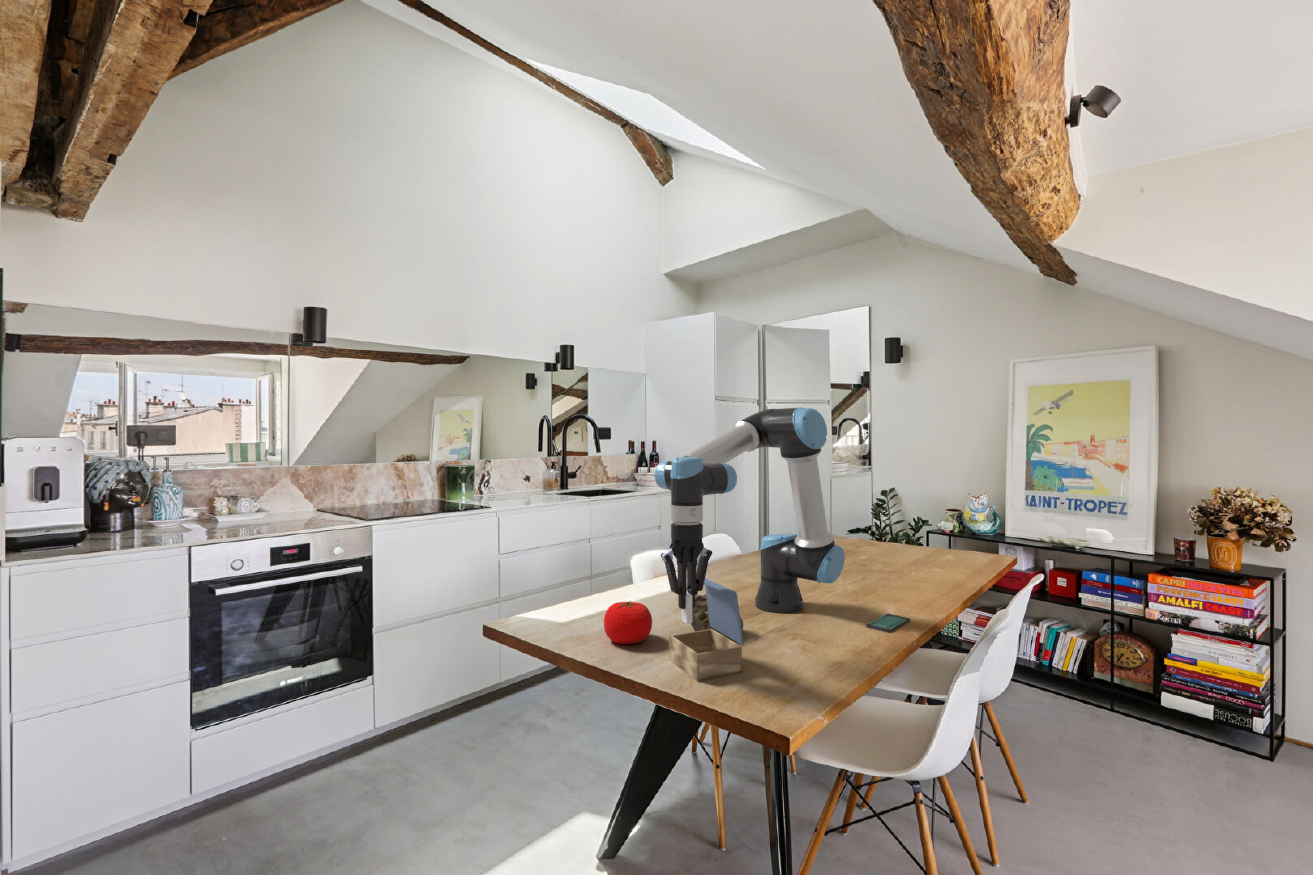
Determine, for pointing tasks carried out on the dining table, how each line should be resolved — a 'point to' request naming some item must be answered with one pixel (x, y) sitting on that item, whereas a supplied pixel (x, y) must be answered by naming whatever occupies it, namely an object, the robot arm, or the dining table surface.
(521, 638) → the dining table surface
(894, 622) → the smartphone
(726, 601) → the lid
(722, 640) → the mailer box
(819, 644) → the dining table surface
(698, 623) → the stone
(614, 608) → the tomato
